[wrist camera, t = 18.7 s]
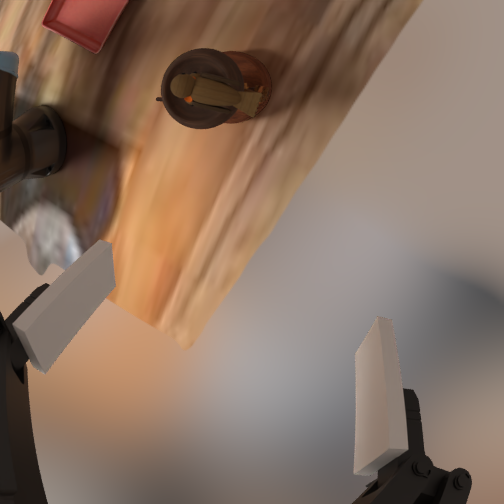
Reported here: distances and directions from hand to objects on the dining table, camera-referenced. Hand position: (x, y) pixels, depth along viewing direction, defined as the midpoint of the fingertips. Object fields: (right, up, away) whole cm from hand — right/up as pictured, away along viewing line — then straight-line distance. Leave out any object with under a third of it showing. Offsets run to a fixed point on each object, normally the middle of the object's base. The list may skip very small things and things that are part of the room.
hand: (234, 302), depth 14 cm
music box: (-2, +26, +27) cm, 37 cm away
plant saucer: (-25, +46, +20) cm, 57 cm away
